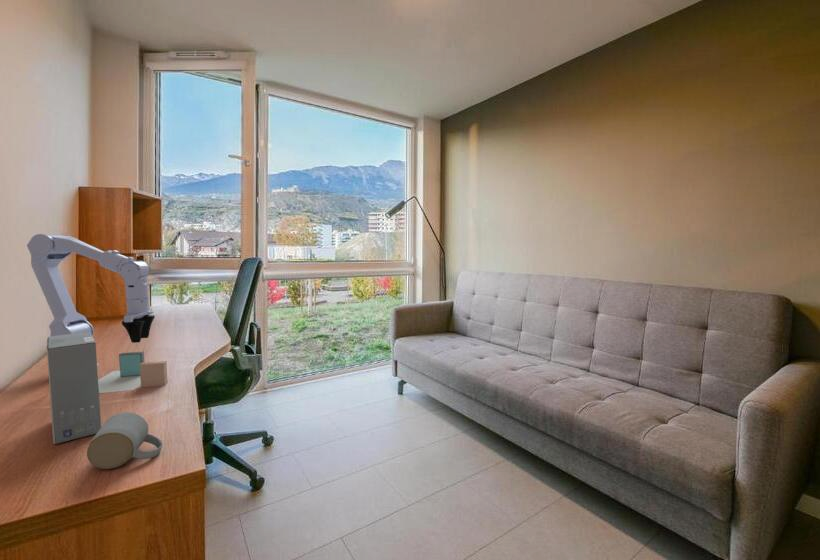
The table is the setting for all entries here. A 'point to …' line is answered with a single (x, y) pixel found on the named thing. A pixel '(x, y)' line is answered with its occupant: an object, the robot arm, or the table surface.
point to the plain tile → (153, 373)
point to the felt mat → (118, 382)
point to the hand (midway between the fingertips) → (140, 340)
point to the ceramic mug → (121, 441)
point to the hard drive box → (73, 386)
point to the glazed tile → (130, 363)
